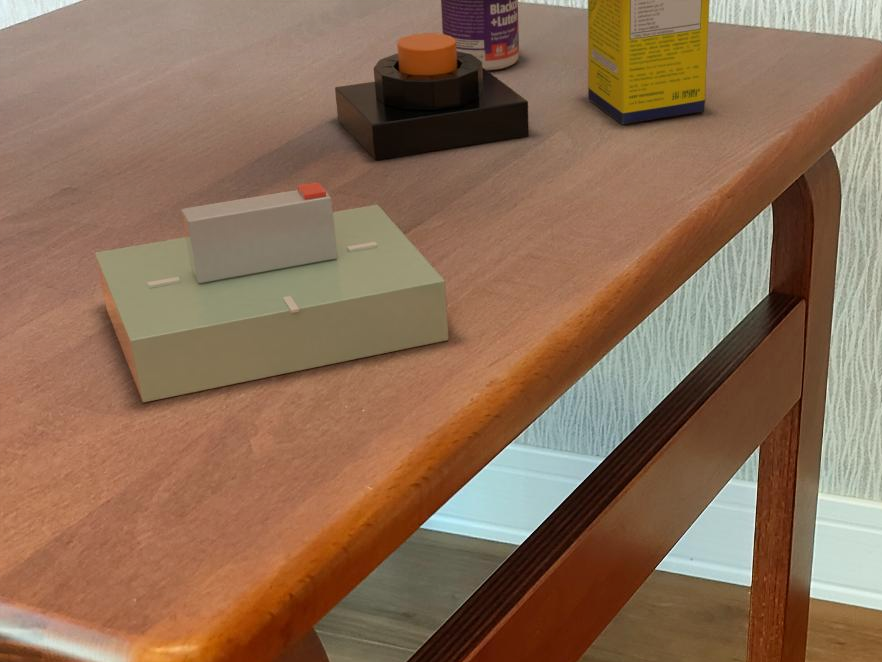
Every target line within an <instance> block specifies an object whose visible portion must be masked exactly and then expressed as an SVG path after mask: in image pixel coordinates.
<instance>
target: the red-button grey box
mask: <svg viewBox="0 0 882 662" xmlns="http://www.w3.org/2000/svg"><path fill="white" fill-rule="evenodd" d="M296 188H297V189H295V190H294V189H293V190H289V191H281V192H277V193H269V194H264V195H260V196H258V195H257V196H251V197H246V198H240V199H233V200H228V201H221V202H215V203H209V204H203V205H197V206H190V207H185V208H182V209H181V216H182V223H183V227H184V228H183V229H184V235H185V237H186V241H187V247H188V253H189V258H190V264H191V270H192V272H193V274H194V275H195V277H196V279H197V281H198V283H204V282H210V281H215V280H221V279H226V278H232V277H237V276H243V275H249V274H254V273H260V272H265V271H271V270H276V269H282V268H287V267H293V266H298V265H304V264H309V263H315V262H320V261H326V260H331V259H337V257H338V255H337V246H336V236H335V227H334V218H333V212H334V210H333V209H334V208H333V200H332V197H331V196H330V194H329V193H328V192H327V190H326V189H325V188H324V186H322V185H321V183H319V181H317V182H311V183H304V184H297V185H296Z"/></svg>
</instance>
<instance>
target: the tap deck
mask: <svg viewBox="0 0 882 662" xmlns="http://www.w3.org/2000/svg"><path fill="white" fill-rule="evenodd" d="M333 218H334V227H335V236H336V246H337V255H338V257H337V259H331V260H326V261H320V262H315V263H309V264H304V265H298V266H293V267H287V268H282V269H276V270H271V271H265V272H260V273H254V274H249V275H243V276H237V277H232V278H226V279H221V280H215V281H210V282H204V283H198V281H197V279H196V277H195V275H194V274H193V272H192V270H191V264H190V258H189V253H188V247H187V241H186V236H184V237H178V238H172V239H166V240H161V241H155V242H149V243H144V244H137V245H132V246H126V247H120V248H114V249H108V250H103V251H97V252H94V256H95V261H96V266H97V272H98V276H99V280H100V285H101V290H102V294H103V299H104V304H105V308H106V312H107V314H108V317H109V320H110V322H111V325H112V327H113V329H114V333H115V335H116V338H117V341H118V343H119V345H120V348H121V350H122V353H123V356H124V358H125V361H126V364H127V366H128V368H129V371H130V374H131V376H132V379H133V381H134V383H135V386H136V388H137V391H138V394H139V396H140V399H141V401H142V403H148V402H153V401H157V400H158V401H159V400H162V399H168V398H172V397H177V396H183V395H186V394H187V395H188V394H192V393H197V392H201V391H207V390H212V389H217V388H221V387H222V388H223V387H226V386H232V385H235V384H241V383H246V382H251V381H256V380H261V379H265V378H266V379H267V378H269V377H270V378H271V377H275V376H279V375H284V374H289V373H295V372H299V371H305V370H309V369H314V368H319V367H324V366H328V365H329V366H330V365H333V364H334V365H335V364H339V363H343V362H344V363H345V362H349V361H354V360H358V359H364V358H367V357H372V356H377V355H383V354H387V353H392V352H397V351H402V350H407V349H412V348H416V347H422V346H426V345H431V344H437V343H441V342H445V341H449V324H448V323H449V322H448V308H447V307H448V306H447V291H446V290H447V289H446V279H444V277H442V275H441V274H440V273H439V272H438V271H437V270H436V269H435V267H434V266H433V265H432V264H431V263H430V261H428V259H427V258H426V257H425V256H424V255H423V254H422V253H421V252H420V250H419V249H418V248H417V247H416V246H415V245H414V244H413V242H412V241H410V239H409V238H408V237H407V235H405V233H403V231H402V230H401V229H400V228H399V227H398V225H397V224H396V223H395V222H394V221H393V220H392V218H391V217H389V215H388V214H387V213H386V212H385V211H384V209H382V208H381V206H380V205H379V204H372V205H366V206H362V207H361V206H360V207H356V208H355V207H354V208H350V209H342V210H337V211H333Z"/></svg>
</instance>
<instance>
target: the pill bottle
mask: <svg viewBox="0 0 882 662" xmlns="http://www.w3.org/2000/svg"><path fill="white" fill-rule="evenodd" d="M440 6H441V9H440V10H441V29H442V34H444V35H448V36H451V37H453V38H455V40H456V49H457V51H458V52H463V53H468V54H472V55H473V56H475V57H476V58H477V59H479V60H480V61H481V62H482V67H483V68H484V69H485V70H487V71H497V70H502V69H506V68H508V67H511V66H512V65H514V64H515V63H517V62H518V60H519V54H520V38H519V0H440Z"/></svg>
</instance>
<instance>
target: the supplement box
mask: <svg viewBox="0 0 882 662" xmlns="http://www.w3.org/2000/svg"><path fill="white" fill-rule="evenodd" d="M709 19H710V0H587V41H588V42H587V48H588V49H587V50H588V51H587V53H588V55H587V62H588V63H587V65H588V68H587V75H588V76H587V80H588V81H587V84H588V86H587V87H588V89H587V90H588V91H587V95H588V101H589V102H591V103H593V104H594V105H596V106H597V107H598V108H599V109H601V110H602V111H603V112H605V113H606V114H607V115H608V116H610V117H611V118H613V119H614V120H615V121H617V122H619V123H620V124H621V125H628V124H634V123H639V122H645V121H651V120H656V119H658V120H659V119H664V118H670V117H676V116H684V115H689V114H695V113H696V114H697V113H703V112H705V109H706V91H707V89H706V88H707V64H708V45H709V43H708V41H709Z"/></svg>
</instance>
